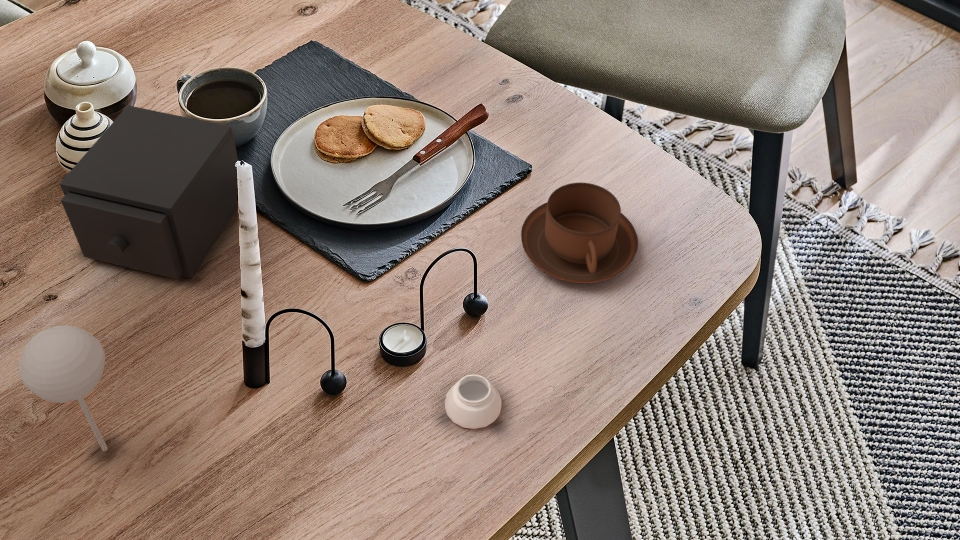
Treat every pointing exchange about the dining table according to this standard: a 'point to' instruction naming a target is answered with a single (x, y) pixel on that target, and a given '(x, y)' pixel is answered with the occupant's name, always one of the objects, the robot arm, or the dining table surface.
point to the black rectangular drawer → (123, 234)
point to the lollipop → (64, 367)
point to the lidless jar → (473, 402)
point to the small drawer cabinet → (165, 175)
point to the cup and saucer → (580, 235)
